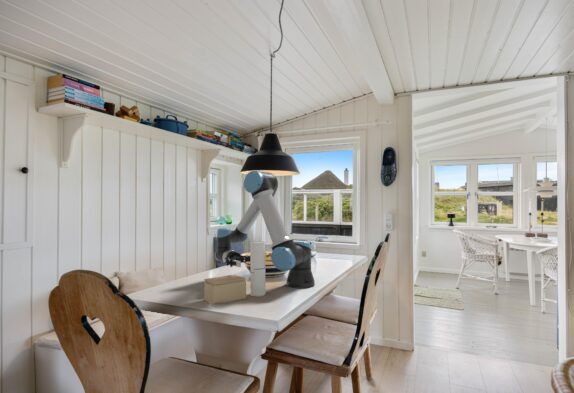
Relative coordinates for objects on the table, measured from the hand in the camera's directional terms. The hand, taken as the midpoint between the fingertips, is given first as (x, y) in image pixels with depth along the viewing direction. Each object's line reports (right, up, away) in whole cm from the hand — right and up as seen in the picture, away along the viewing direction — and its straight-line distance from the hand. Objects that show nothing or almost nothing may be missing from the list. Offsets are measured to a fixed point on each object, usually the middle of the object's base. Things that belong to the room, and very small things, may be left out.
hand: (252, 262), depth 160 cm
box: (-11, -14, -11) cm, 21 cm away
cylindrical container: (+3, -15, -4) cm, 15 cm away
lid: (-11, -6, -11) cm, 17 cm away
